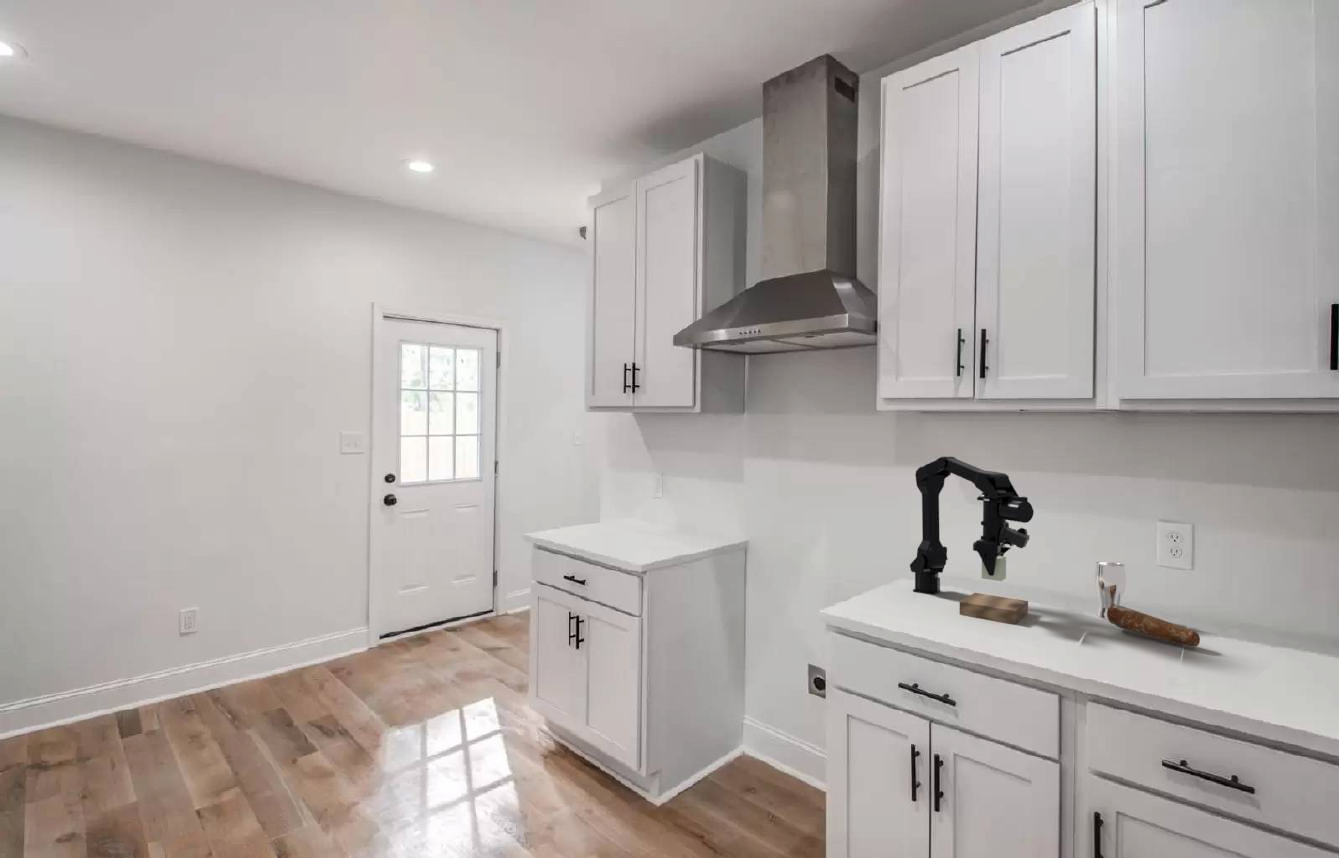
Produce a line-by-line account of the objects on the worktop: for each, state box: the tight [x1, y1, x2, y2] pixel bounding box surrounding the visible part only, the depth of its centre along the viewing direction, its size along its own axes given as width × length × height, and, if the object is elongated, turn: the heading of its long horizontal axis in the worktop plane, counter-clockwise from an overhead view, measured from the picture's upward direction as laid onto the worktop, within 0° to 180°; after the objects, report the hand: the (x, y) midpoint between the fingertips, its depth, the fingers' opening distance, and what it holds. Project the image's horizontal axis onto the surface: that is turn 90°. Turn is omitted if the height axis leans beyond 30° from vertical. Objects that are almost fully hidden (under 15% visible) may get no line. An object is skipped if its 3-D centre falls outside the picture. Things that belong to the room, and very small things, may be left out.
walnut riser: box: [959, 592, 1029, 625], centre depth 181 cm, size 14×14×4 cm
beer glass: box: [1094, 561, 1127, 621], centre depth 178 cm, size 7×7×15 cm
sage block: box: [981, 556, 1007, 582], centre depth 181 cm, size 5×5×6 cm
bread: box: [1107, 604, 1201, 647], centre depth 160 cm, size 6×19×6 cm, turn 33°
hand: (993, 574), depth 181 cm, fingers closed on sage block, 5 cm apart
